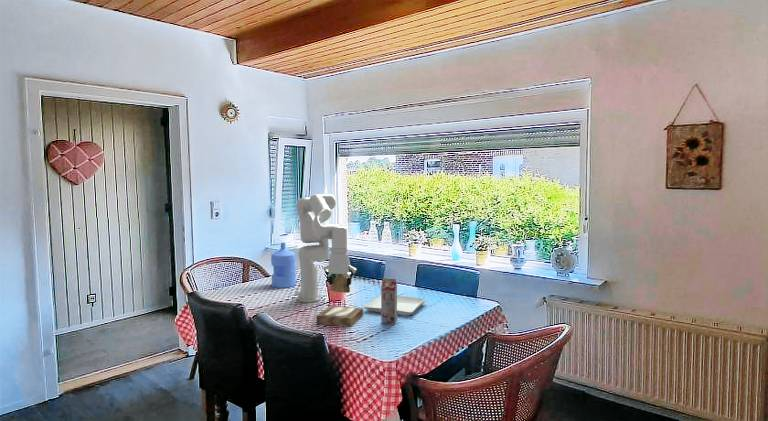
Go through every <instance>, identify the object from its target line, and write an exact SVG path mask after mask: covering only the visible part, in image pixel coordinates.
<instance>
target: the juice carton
mask: <svg viewBox="0 0 768 421" xmlns="http://www.w3.org/2000/svg"><path fill="white" fill-rule="evenodd" d="M381 280H382V282H381V288H380V289H381V290H380V296H381V313H380V314H381V319H380V320H381V325H385V326H386V325H388V326H391V325H392V326H395V325H396V324H397V321H398V315H397V296H398V283H397V279H396V278H387V277H385V278H382V279H381Z"/></svg>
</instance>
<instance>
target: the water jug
mask: <svg viewBox="0 0 768 421" xmlns="http://www.w3.org/2000/svg"><path fill="white" fill-rule="evenodd" d="M270 259H271V266H272V267H273V274H271V286H272V287H273V288H279V289H287V288H292V287H295V286H296V284H297V280H296V279H297V278H296V276H297V275H296V272H297V269H296V268H297V267H296V253H295V252H293V251H291V250H290V249H287V248H286V242H280V249H279V250H277V251H275V252H273V253H271V256H270Z"/></svg>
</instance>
